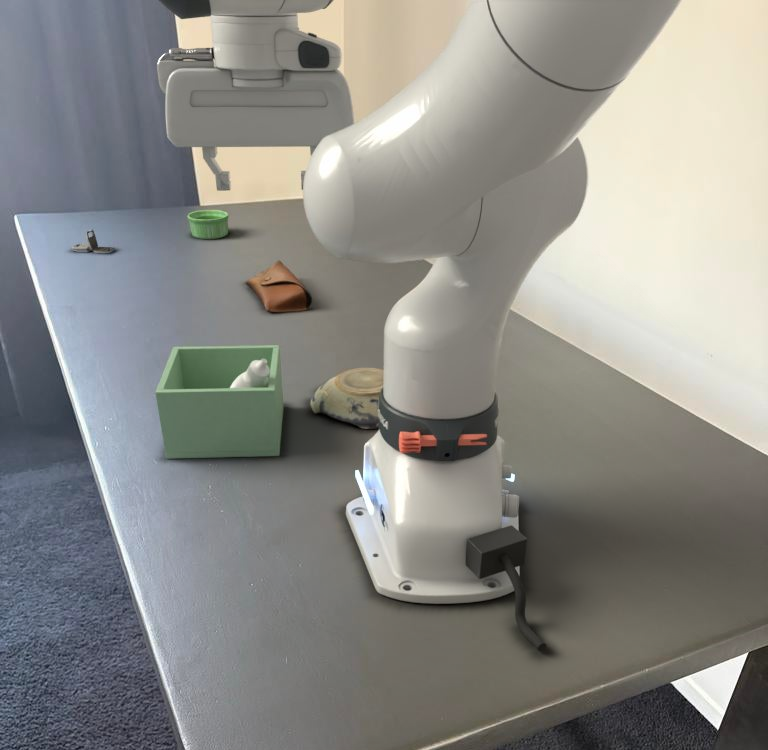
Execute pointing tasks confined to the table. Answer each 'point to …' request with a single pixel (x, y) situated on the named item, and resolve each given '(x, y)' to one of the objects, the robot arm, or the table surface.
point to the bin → (219, 403)
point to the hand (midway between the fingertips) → (266, 189)
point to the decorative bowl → (351, 397)
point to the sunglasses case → (280, 290)
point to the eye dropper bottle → (253, 376)
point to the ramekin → (208, 224)
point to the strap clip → (91, 245)
